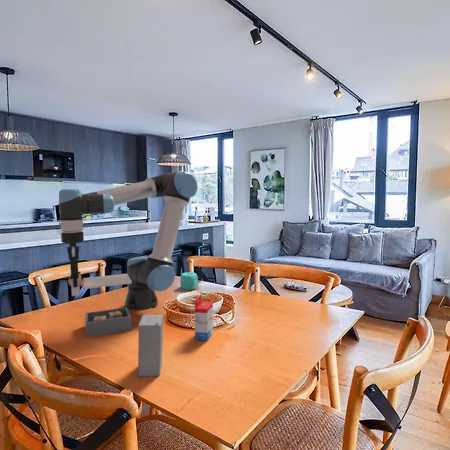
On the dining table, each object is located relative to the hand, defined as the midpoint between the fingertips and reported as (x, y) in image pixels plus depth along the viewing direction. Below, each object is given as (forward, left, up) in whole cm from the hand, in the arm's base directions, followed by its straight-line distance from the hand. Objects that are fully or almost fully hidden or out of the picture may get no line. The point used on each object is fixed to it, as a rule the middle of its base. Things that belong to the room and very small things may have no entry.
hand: (75, 293), depth 129 cm
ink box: (-43, +21, -16) cm, 50 cm away
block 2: (-14, -1, -15) cm, 21 cm away
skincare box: (-20, +38, -16) cm, 46 cm away
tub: (-11, 0, -16) cm, 19 cm away
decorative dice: (-58, -44, -16) cm, 74 cm away
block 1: (-8, +2, -15) cm, 17 cm away
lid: (-9, 0, +3) cm, 9 cm away
